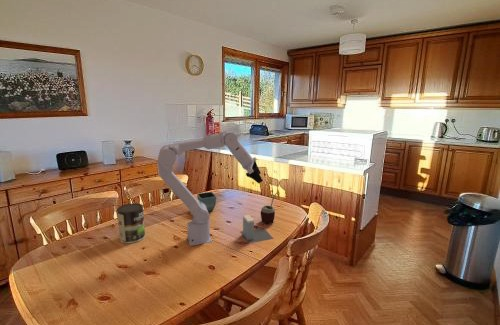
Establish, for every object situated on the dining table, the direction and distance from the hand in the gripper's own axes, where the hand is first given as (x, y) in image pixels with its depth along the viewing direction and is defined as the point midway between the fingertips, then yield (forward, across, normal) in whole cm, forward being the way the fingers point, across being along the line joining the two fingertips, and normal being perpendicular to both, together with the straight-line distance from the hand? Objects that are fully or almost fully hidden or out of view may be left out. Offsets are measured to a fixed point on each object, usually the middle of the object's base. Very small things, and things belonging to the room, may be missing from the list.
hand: (259, 178), depth 115 cm
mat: (+19, -8, +16) cm, 27 cm away
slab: (+17, -9, +19) cm, 27 cm away
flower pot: (+9, +21, +39) cm, 46 cm away
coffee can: (-13, -7, +60) cm, 62 cm away
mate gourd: (+26, +6, +12) cm, 29 cm away
